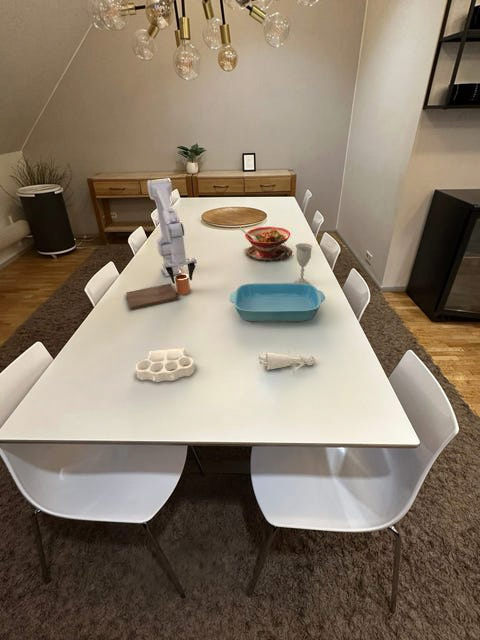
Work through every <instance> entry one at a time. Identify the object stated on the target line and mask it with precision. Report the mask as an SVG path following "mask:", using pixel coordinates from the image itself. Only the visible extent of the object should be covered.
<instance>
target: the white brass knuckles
mask: <svg viewBox="0 0 480 640" xmlns="http://www.w3.org/2000/svg"><path fill="white" fill-rule="evenodd" d="M134 368H135V373H136V376H137V378H138V379H139V380H141V381H147V380H149V381H152V382H154V383H155V382H156V383H160V382H163V381H168V382H173V381H177V380H178V379H180V378H182V377H190V376H192V375H193V374H194V372H195V363H194V359H193V358H192V357H190V356H186V348H184V347H182V348H174V349H173V348H172V349H171V348H170V349H168V348H167V349H158V350H149V352H148V357H146V359H143V360H140V361H139V362H137V363H136V365H135V367H134Z"/></svg>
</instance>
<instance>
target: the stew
mask: <svg viewBox="0 0 480 640" xmlns="http://www.w3.org/2000/svg"><path fill="white" fill-rule="evenodd" d="M238 227H239V229H240V230H241V231H242V233H244V236H245V239H246V240H247V241H248V242H249V243H250V245H251V246H249V247H247V248H245V250H246V251H245V255H246V256H247V257H249V258H250V259H252V260H255V261H257V262H263V263H264V262H265V263H271V262H272V263H273V262H281V261H287V260H288V259H290V257H291V256H293V250H292V249H291V248H290V247H289V246H287V245H286V242H287V241H288V240H289V238H290V237H291V232H290V231H289V230H288V229H285V228H283V227H275V226H260V227H254V228H252V229H250V230H248V231H246V230H244V229H243V228H242V227H241V226H240V225H238Z"/></svg>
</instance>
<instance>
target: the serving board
mask: <svg viewBox="0 0 480 640" xmlns="http://www.w3.org/2000/svg"><path fill="white" fill-rule="evenodd" d="M125 294H126V297H127V301H128V305H129V309H130V311H132V310H133V311H134V310H137V309H141V308H147V307H152V306H155V305H160V304H165V303H170V302H174V301H178V300H179V297H178V295H177V292H176V291H175V289H174V287H173V285H172V283H171V282H170V283H166V284H160V285H156V286H150V287H146V288H140V289H136V290H132V291H127V292H125Z"/></svg>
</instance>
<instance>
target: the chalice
mask: <svg viewBox="0 0 480 640" xmlns="http://www.w3.org/2000/svg"><path fill="white" fill-rule="evenodd" d="M313 247H314V246H313V245H312V244H310V243H306V242H305V243H303V242H302V243H297V244H295V249H296V250H295V251H296V253H295V258H296V261H297V263H298V265H299V267H300V268H301V269H300V273H299V275H300V277H299V278H298V279H297V280H296V282H295V283H304V284H308V283H307V280H306V279H305V278H304V275H305V273H304V272H305V267H306V266H307V265H308V264H309V262H310V260H311V258H312V249H313Z"/></svg>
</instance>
